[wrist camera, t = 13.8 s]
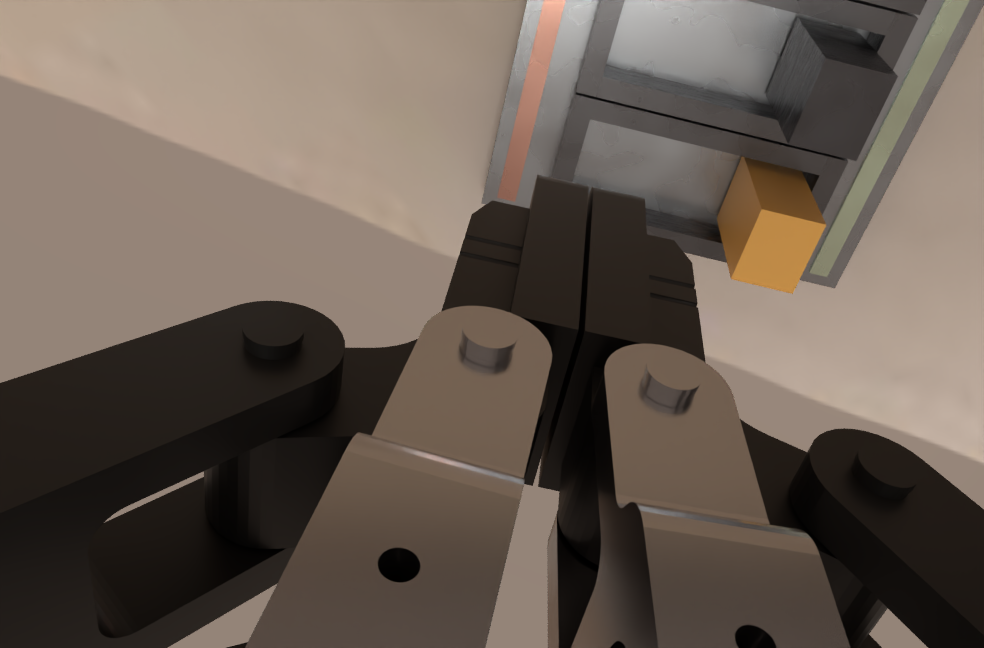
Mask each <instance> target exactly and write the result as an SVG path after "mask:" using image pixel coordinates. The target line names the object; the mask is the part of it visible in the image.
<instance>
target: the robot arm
mask: <svg viewBox="0 0 984 648" xmlns="http://www.w3.org/2000/svg"><path fill="white" fill-rule="evenodd" d="M588 191H589V186H588V185H583V184H579V183H574V182H570V181H565V180H561V179H556V178H552V177H547V176H543V175H538V174H537V178H536V182H535V186H534V190H533V194H532V199H531V203H530V207H529V208H525V207H520V206H516V205H511V204H507V203H502V202H498V201H493V200H492V201H491V202H489V203H488V204H486V205H485V206H483V207H482V208H481V209H479V210H478V211H476V212H475V213H473V214H472V216H471V219H470V222H469V225H468V228H467V232H466V235H465V239H464V241H463V244H462V248H461V251H460V255H459V257H458V260H457V263H456V267H455V270H454V273H453V276H452V279H451V283H450V286H449V289H448V292H447V295H446V299H445V302H444V305H443V308H442V311H441V312H439V313H438V314H436V315H434V316H433V317H432V318H431V319H430V320H429V321H428V322H427V323H426V324H425V326H424V328H423V330H422V332H421V334H420V336H419V338H418V339H416V340H414V341H411V342H409V343H406V344H401V345H397V346H391V347H382V348H345V341H344V338H343V335H342V333H341V331H340V330H339V328H338V326H336V325H335V323H334V322H333V321H332V320H330V319H329V318H328V317H326V316H325V315H323V314H321V313H320V312H318V311H315V310H313V309H311V308H308V307H306V306H302V305H298V304H294V303H289V302H282V301H257V302H250V303H245V304H241V305H237V306H234V307H231V308H228V309H225V310H222V311H218V312H215V313H213V314H209V315H206V316H203V317H200V318H197V319H194V320H191V321H188V322H185V323H182V324H179V325H176V326H173V327H170V328H167V329H164V330H161V331H158V332H155V333H151V334H148V335H145V336H142V337H140V338H136V339H133V340H130V341H127V342H124V343H121V344H118V345H115V346H112V347H109V348H106V349H103V350H100V351H97V352H94V353H91V354H88V355H84V356H81V357H79V358H75V359H72V360H70V361H66V362H63V363H60V364H57V365H54V366H51V367H48V368H45V369H42V370H39V371H36V372H33V373H30V374H27V375H24V376H21V377H18V378H14V379H11V380H8V381H5V382H2V383H0V648H167V647H169V646H171V645H173V644H174V643H176V642H178V641H179V640H181V639H183V638H185V637H186V636H188V635H190V634H191V633H193V632H195V631H196V630H198V629H200V628H202V627H203V626H205V625H207V624H209V623H210V622H212V621H214V620H215V619H217V618H219V617H220V616H222V615H224V614H226V613H227V612H229V611H231V610H232V609H234V608H236V607H238V606H239V605H241V604H243V603H244V602H246V601H248V600H249V599H251V598H253V597H255V596H256V595H258V594H260V593H261V592H263V591H265V590H267V589H269V588H270V587H272V586H273V585H275V584H277V583H278V584H277V586H276V588H275V590H274V592H273V594H272V596H271V598H270V600H269V601H268V603H267V606H266V608H265V609H264V611H263V613H262V616H261V617H260V619H259V621H258V623H257V625H256V627H255V629H254V631H253V633H252V635H251V637H250V639H249V641H248V642H247V643H243V644H240V645H235V646H231V647H227V648H485V647H486V643H487V638H488V634H489V630H490V626H491V621H492V617H493V613H494V609H495V605H496V600H497V596H498V592H499V588H500V584H501V580H502V575H503V571H504V567H505V563H506V559H507V554H508V550H509V546H510V542H511V538H512V533H513V529H514V525H515V520H516V516H517V512H518V508H519V504H520V500H521V496H522V491H523V487H524V484H527V485H532V486H533V483H534V479H535V476H536V473H537V469H538V466H539V462H540V459H541V466H540V476H539V484H538V487H542V488H546V489H551V490H556V491H560V493H559V505H558V511H557V514H556V517H555V520H554V524H553V526H552V529H551V533H550V536H549V539H548V546H547V555H548V556H547V557H548V558H547V559H548V561H547V564H548V565H547V566H548V569H547V570H548V648H881V646H879V644H878V643H877V642H876V641H875V640H874V639H873V638H872V637H871V636H870V635H869V633H870V632H871V630H872V629H873V628H874V626H875V625H876V623H877V622H878V621H879V619H880V618H881V617H882V615H883V614H884V612H885V611H886V610H887V608H888V609H889V610H890V611H891V612H892V613H893V614H894V615H895V616H896V617H898V619H900V620H901V622H903V623H904V624H905V625H906V626H907V627H908V628H909V629H910V630H911V631H912V632H913V633H914V634H915V635H916V636H917V637H918V638H919V639H920V640H921V641H922V642H923V643H924V644H925V645H926V646H927V647H928V648H984V509H982V508H981V507H980V506H979V505H977V504H976V503H975V502H974V501H972V500H971V499H970V498H969V497H968V496H966V495H965V494H964V493H963V492H961V491H960V490H959V489H958V488H957V487H955V486H954V485H953V484H951V483H950V482H949V481H948V480H947V479H945V478H944V477H943V476H942V475H940V474H939V473H938V472H937V471H936V470H934V469H933V468H932V467H930V465H928V464H927V463H925V461H923V460H922V459H921V458H919V457H918V456H917V455H915V454H914V453H913V452H911V451H909V450H908V449H906V448H905V447H903V446H901V445H899V444H897V443H895V442H893V441H891V440H889V439H887V438H884V437H882V436H879V435H877V434H873V433H870V432H866V431H861V430H855V429H834V430H831V431H826V432H824V433H822V434H820V435H819V436H818V437H817V438H816V439H815V440H814V441H813V443H812V445H811V447H810V449H809V450H808V452H805V451H803V450H801V449H798V448H796V447H794V446H792V445H789V444H787V443H785V442H783V441H780V440H778V439H776V438H774V437H771V436H769V435H767V434H765V433H763V432H761V431H758V430H757V429H755V428H753V427H752V426H750V425H748V424H747V423H745V422H744V421H742V420H741V419H740V418H739V414H738V411H737V407H736V404H735V400H734V396H733V394H732V391H731V389H730V387H729V385H728V384H727V383H726V381H725V380H724V379H723V377H722V376H721V375H720V374H719V373H718V372H717V371H716V370H714V369H713V368H712V367H711V366H710V365H708V364H706V363H705V355H704V348H703V341H702V333H701V326H700V319H699V311H698V308H697V307H696V306H697V297H696V289H694V286H695V282H694V275H693V267H692V262H691V261H690V260H689V259H688V257H687V256H686V255H685V253H684V252H683V251H682V250H681V248H680V247H679V246H678V244H677V243H676V242H675V241H674V240H671V239H666V238H661V237H657V236H652V235H648V234H647V227H646V208H645V198H643V197H638V196H634V195H629V194H625V193H620V192H616V191H611V190H607V189H602V188H598V187H592V188H591V191H590V193H589V196H588ZM541 456H542V457H541ZM203 471H204V477H203V478H200V479H198V480H196V481H194V482H192V483H190V484H188V485H185V486H183V487H181V488H179V489H177V490H174V491H172V492H170V493H168V494H166V495H164V496H161V497H159V498H157V499H155V500H153V501H151V502H148V503H146V504H144V505H142V506H140V507H137V508H135V509H133V510H131V511H129V512H127V513H124V514H123V515H120V516H118V517H116V518H114V519H112V520H109V521H107V522H105V521H106V520H107V519H108V518H109V517H111V516H112V515H113V514H114V513H116V512H117V511H119V510H121V509H123V508H124V507H126V506H128V505H130V504H133V503H135V502H137V501H139V500H141V499H143V498H146V497H148V496H150V495H152V494H154V493H157V492H159V491H161V490H163V489H165V488H167V487H170V486H172V485H174V484H177V483H179V482H181V481H183V480H185V479H187V478H189V477H192V476H194V475H196V474H198V473H201V472H203ZM104 522H105V523H104Z"/></svg>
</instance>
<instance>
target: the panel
mask: <svg viewBox="0 0 984 648" xmlns="http://www.w3.org/2000/svg"><path fill="white" fill-rule="evenodd" d="M983 5H984V0H527V5H526V9H525V13H524V18H523V22H522V27H521V31H520V36H519V40H518V44H517V49H516V53H515V58H514V62H513V66H512V71H511V75H510V80H509V84H508V89H507V93H506V97H505V102H504V106H503V111H502V115H501V120H500V124H499V128H498V133H497V137H496V142H495V146H494V151H493V155H492V159H491V164H490V168H489V173H488V177H487V182H486V186H485V190H484V195H483V199H482V203H483V204H488V203H489V202H491V201H492V200H493V201H498V202H502V203H507V204H511V205H516V206H520V207H525V208H529V207H530V203H531V199H532V194H533V190H534V186H535V182H536V178H537V174H538V175H543V176H547V177H552V178H556V179H561V180H565V181H570V182H574V183H579V184H583V185H588V186H589V191H588V196H589V193H590V191H591V188H592V187H598V188H602V189H607V190H611V191H616V192H620V193H625V194H629V195H634V196H638V197H643V198H645V208H646V227H647V234H648V235H652V236H657V237H661V238H666V239H671V240H674V241H675V242H676V243H677V244H678V246H679V247H680V248H681V250H682V251H683V252H685V253H689V254H693V255H698V256H702V257H706V258H710V259H714V260H718V261H723V262H727V260H726V256H725V251H724V247H723V243H722V239H721V235H720V230H719V226H718V222H717V216H718V214H719V211H720V209H721V206H722V204H723V202H724V199H725V197H726V194H727V192H728V189H729V187H730V184H731V182H732V179H733V177H734V175H735V172H736V170H737V167H738V165H739V162H740V160H741V157H746V158H751V159H755V160H759V161H763V162H767V163H771V164H775V165H779V166H783V167H787V168H791V169H796V170H800V171H802V173H803V175H804V177H805V179H806V182H807V184H808V186H809V188H810V190H811V192H812V195H813V197H814V199H815V201H816V203H817V205H818V208H819V210H820V212H821V214H822V216H823V218H824V221H825V223H826V227H825V229H824V231H823V233H822V235H821V237H820V239H819V241H818V243H817V245H816V247H815V249H814V251H813V253H812V255H811V257H810V259H809V261H808V263H807V265H806V267H805V269H804V271H803V273H802V276H801V278H800V280H802V281H807V282H811V283H815V284H819V285H823V286H827V287H832V288H835V287H836V285H837V283H838V281H839V279H840V277H841V275H842V273H843V271H844V269H845V268H846V266H847V264H848V262H849V260H850V258H851V256H852V254H853V252H854V250H855V248H856V247H857V245H858V243H859V241H860V239H861V237H862V235H863V233H864V231H865V229H866V228H867V226H868V224H869V222H870V220H871V218H872V216H873V214H874V212H875V210H876V209H877V207H878V205H879V203H880V201H881V199H882V197H883V195H884V193H885V191H886V190H887V188H888V186H889V184H890V182H891V180H892V178H893V176H894V174H895V172H896V171H897V169H898V167H899V165H900V163H901V161H902V159H903V157H904V155H905V153H906V152H907V150H908V148H909V146H910V144H911V142H912V140H913V138H914V136H915V134H916V133H917V131H918V129H919V127H920V125H921V123H922V121H923V119H924V117H925V115H926V114H927V112H928V110H929V108H930V106H931V104H932V102H933V100H934V98H935V96H936V94H937V93H938V91H939V89H940V87H941V85H942V83H943V81H944V79H945V77H946V75H947V74H948V72H949V70H950V68H951V66H952V64H953V62H954V60H955V58H956V56H957V55H958V53H959V51H960V49H961V47H962V45H963V43H964V41H965V39H966V37H967V36H968V34H969V32H970V30H971V28H972V26H973V24H974V22H975V20H976V18H977V17H978V15H979V13H980V11H981V9H982V7H983Z"/></svg>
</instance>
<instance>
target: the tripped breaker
mask: <svg viewBox="0 0 984 648" xmlns="http://www.w3.org/2000/svg"><path fill="white" fill-rule="evenodd" d="M717 222H718V226H719V230H720V235H721V239H722V243H723V247H724V251H725V256H726V260H727V264H728V268H729V273H730V277H731V279H733V280H738V281H742V282H746V283H750V284H754V285H758V286H763V287H767V288H771V289H775V290H779V291H783V292H788V293H792V294H793V292H794V290H795V288H796V286H797V284H798V282H799V280H800V278H801V276H802V273H803V271H804V269H805V267H806V265H807V263H808V261H809V259H810V257H811V255H812V253H813V251H814V249H815V247H816V245H817V243H818V241H819V239H820V237H821V235H822V233H823V231H824V229H825V227H826V223H825V221H824V218H823V216H822V214H821V212H820V210H819V208H818V205H817V203H816V201H815V199H814V197H813V195H812V192H811V190H810V188H809V186H808V184H807V182H806V179H805V177H804V175H803V173H802V171H800V170H796V169H791V168H787V167H783V166H779V165H775V164H771V163H767V162H763V161H759V160H755V159H751V158H746V157H741V160H740V162H739V165H738V167H737V170H736V172H735V175H734V177H733V179H732V182H731V184H730V187H729V189H728V192H727V194H726V197H725V199H724V202H723V204H722V206H721V209H720V211H719V214H718V216H717Z"/></svg>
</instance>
